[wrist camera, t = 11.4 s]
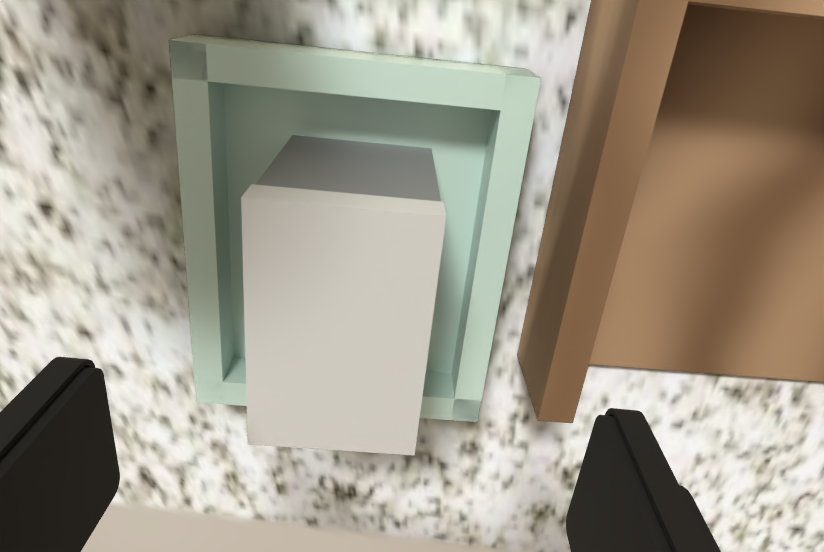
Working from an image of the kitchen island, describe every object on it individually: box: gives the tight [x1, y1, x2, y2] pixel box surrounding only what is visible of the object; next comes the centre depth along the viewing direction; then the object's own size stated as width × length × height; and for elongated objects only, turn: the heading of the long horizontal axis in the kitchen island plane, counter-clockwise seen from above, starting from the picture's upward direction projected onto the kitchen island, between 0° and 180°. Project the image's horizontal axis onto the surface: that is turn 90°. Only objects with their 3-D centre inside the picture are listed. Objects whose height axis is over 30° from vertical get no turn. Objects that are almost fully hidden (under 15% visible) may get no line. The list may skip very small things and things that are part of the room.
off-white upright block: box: [241, 135, 446, 455], centre depth 18 cm, size 5×7×6 cm, turn 174°
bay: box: [517, 0, 824, 423], centre depth 19 cm, size 16×14×4 cm
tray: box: [169, 34, 541, 422], centre depth 20 cm, size 10×12×2 cm
